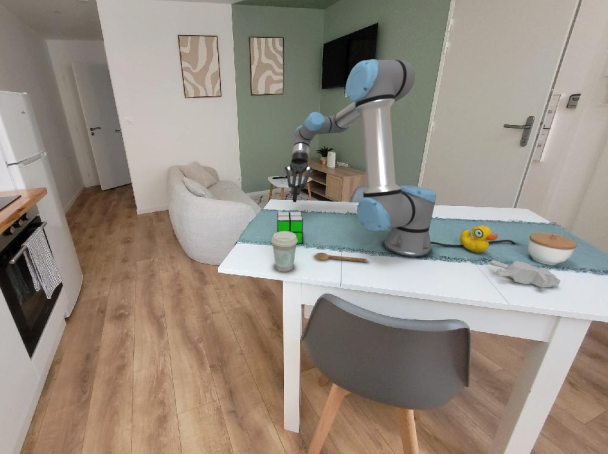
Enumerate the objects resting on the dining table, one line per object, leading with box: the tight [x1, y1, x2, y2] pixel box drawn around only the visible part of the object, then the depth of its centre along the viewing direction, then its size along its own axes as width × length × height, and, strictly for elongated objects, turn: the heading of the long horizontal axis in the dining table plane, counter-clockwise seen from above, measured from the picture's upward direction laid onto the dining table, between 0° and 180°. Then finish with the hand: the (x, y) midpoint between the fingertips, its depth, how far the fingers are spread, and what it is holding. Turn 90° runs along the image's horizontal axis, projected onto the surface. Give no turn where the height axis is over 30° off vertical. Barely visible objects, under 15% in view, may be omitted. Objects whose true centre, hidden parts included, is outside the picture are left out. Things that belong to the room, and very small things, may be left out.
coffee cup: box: [271, 231, 298, 273], centre depth 97 cm, size 8×9×12 cm
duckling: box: [459, 225, 499, 253], centre depth 102 cm, size 11×5×10 cm, turn 17°
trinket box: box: [527, 232, 578, 266], centre depth 94 cm, size 11×11×9 cm
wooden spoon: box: [315, 252, 368, 263], centre depth 102 cm, size 17×4×1 cm, turn 73°
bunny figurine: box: [489, 259, 561, 288], centre depth 86 cm, size 10×5×15 cm
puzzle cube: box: [276, 211, 304, 244], centre depth 119 cm, size 10×10×10 cm
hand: (294, 200), depth 128 cm, fingers closed
